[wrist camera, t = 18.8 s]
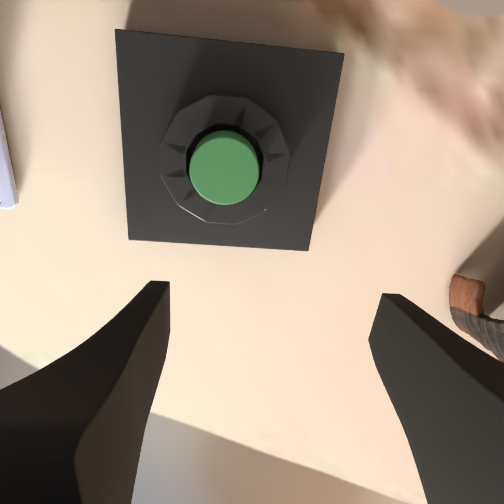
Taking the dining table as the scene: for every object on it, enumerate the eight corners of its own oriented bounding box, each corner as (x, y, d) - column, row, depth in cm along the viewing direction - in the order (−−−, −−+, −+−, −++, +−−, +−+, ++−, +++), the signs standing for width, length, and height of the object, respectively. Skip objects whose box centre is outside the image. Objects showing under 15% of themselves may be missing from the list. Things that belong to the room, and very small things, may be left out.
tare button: (192, 191, 18) (188, 202, 17) (193, 126, 17) (189, 133, 15) (254, 195, 18) (255, 207, 17) (260, 132, 17) (262, 139, 16)
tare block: (134, 229, 22) (120, 254, 19) (123, 30, 17) (103, 26, 15) (304, 240, 23) (313, 265, 20) (337, 53, 18) (355, 54, 15)
